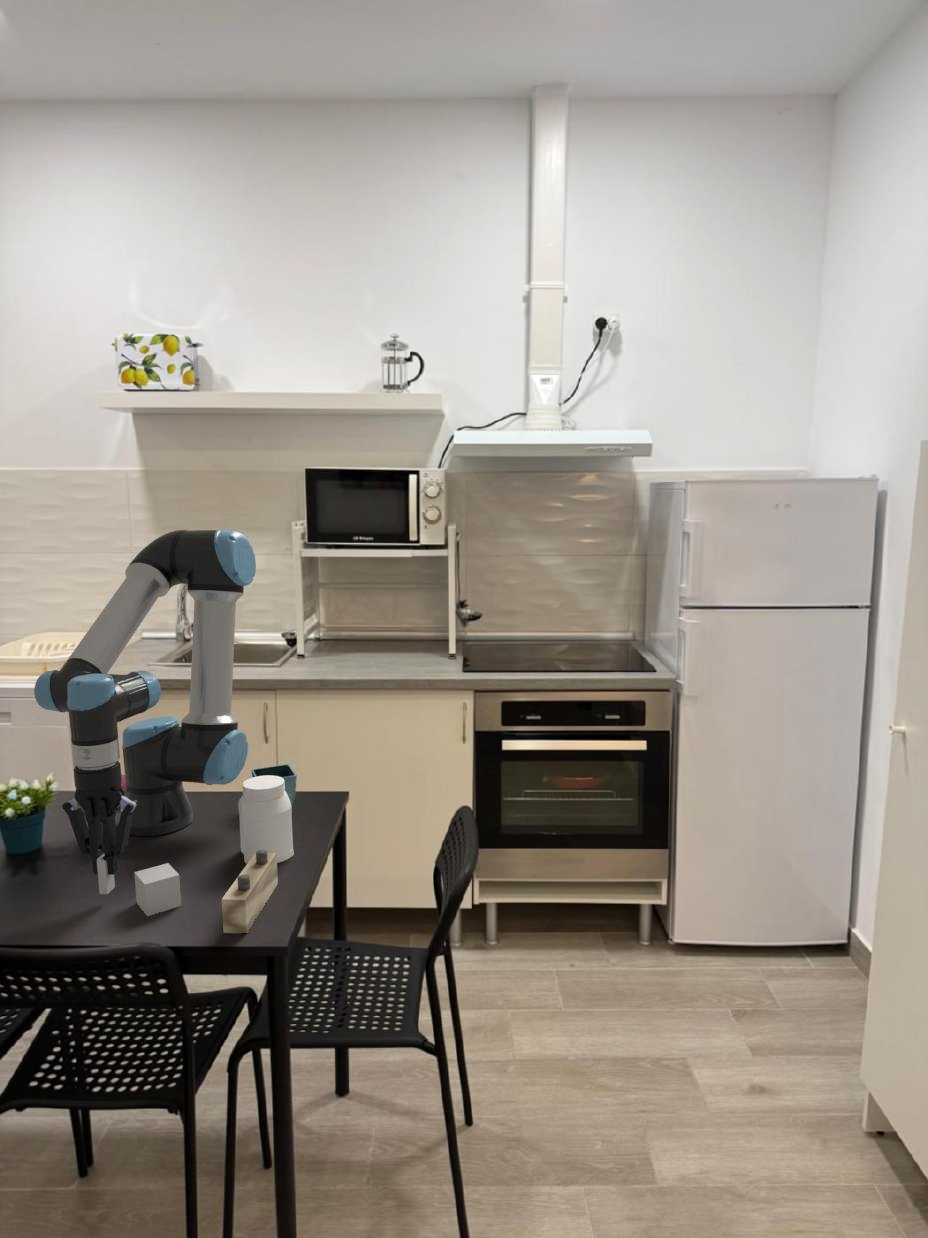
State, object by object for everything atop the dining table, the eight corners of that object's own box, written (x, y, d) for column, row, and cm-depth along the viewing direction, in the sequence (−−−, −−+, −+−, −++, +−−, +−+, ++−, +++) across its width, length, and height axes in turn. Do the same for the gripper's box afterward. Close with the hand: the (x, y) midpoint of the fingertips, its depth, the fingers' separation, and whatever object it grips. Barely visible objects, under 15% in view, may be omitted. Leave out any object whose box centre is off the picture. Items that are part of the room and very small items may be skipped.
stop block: (223, 933, 143) (220, 888, 142) (256, 883, 161) (254, 842, 159) (247, 933, 143) (244, 888, 141) (277, 883, 160) (275, 843, 159)
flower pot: (259, 819, 191) (257, 781, 189) (252, 806, 199) (250, 769, 197) (298, 813, 194) (297, 775, 193) (290, 800, 202) (288, 763, 201)
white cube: (136, 903, 154) (134, 872, 153) (170, 894, 157) (168, 863, 156) (147, 917, 149) (144, 884, 148) (181, 906, 152) (179, 874, 151)
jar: (239, 846, 177) (235, 776, 175) (285, 838, 181) (282, 770, 178) (246, 869, 167) (242, 795, 164) (296, 860, 170) (293, 788, 168)
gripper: (49, 770, 146) (60, 899, 150) (122, 771, 145) (132, 901, 149) (72, 756, 154) (83, 880, 157) (142, 757, 153) (151, 881, 156)
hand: (107, 890), depth 153 cm, fingers closed
